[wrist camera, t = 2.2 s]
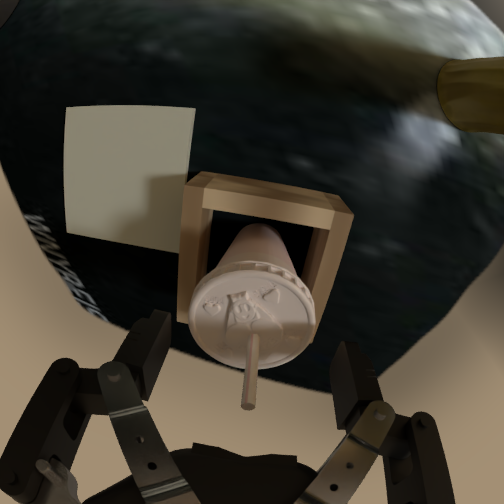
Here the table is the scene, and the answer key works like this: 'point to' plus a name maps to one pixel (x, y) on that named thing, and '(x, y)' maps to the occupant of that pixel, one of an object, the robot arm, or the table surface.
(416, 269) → the table surface
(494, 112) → the vase
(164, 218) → the mat
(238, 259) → the smoothie
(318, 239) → the sleeve
